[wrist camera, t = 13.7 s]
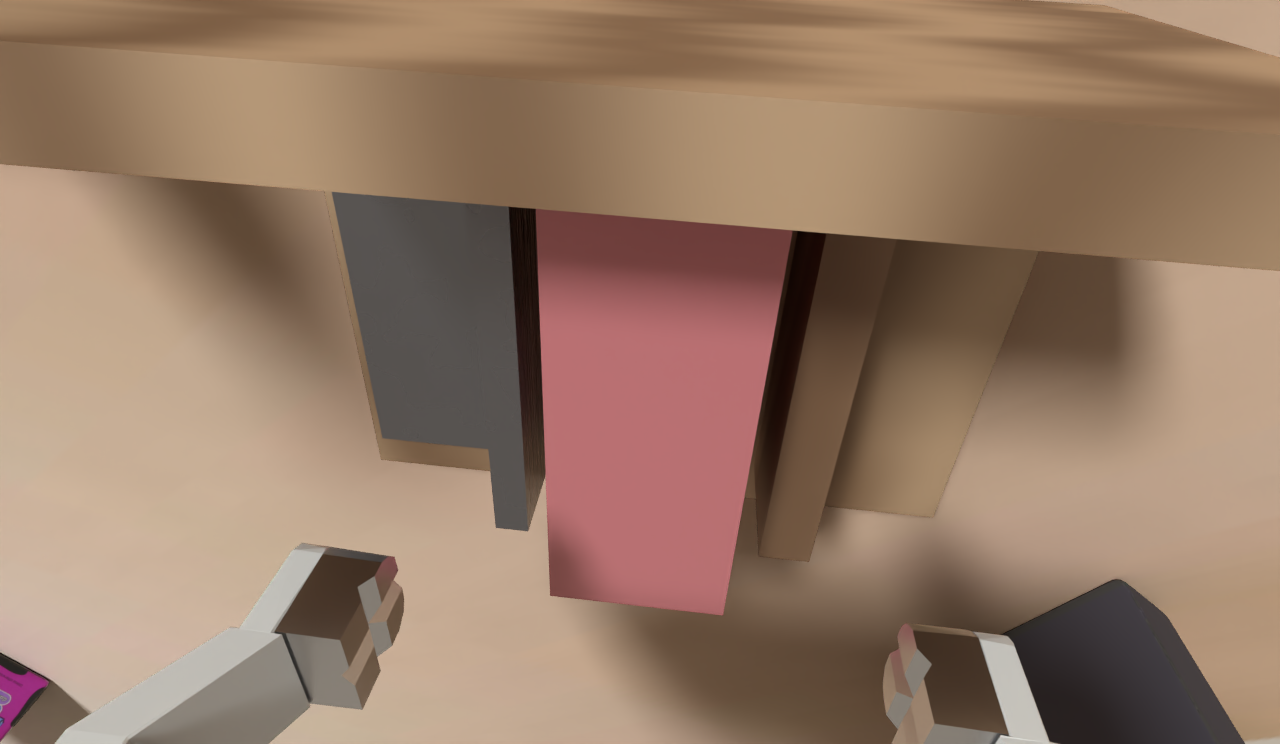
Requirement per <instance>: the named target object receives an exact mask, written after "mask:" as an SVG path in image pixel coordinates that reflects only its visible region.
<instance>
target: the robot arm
mask: <svg viewBox="0 0 1280 744" xmlns="http://www.w3.org/2000/svg"><path fill="white" fill-rule="evenodd" d="M397 572H398V568H397V565H396V561H395V557H392V556H385V555H379V554H372V553H366V552H359V551H353V550H347V549H340V548H334V547H328V546H320V545H313V544H306V543H301V544H300V545H299V546H297V547H296V548H295V549H294V550H292V551H291V553H290V554H289V556H288V557H287V559H286V560H285V562H284V563H283V564H282V566H281V567H280V569H279V570H278V572H277V573H276V575H275V576H274V578H273V579H272V581H271V582H270V583H269V585H268V586H267V588H266V589H265V591H264V592H263V594H262V595H261V597H260V598H259V600H258V601H257V603H256V604H255V605H254V607H253V608H252V610H251V611H250V613H249V614H248V616H247V617H246V619H245V620H244V622H243V623H242V625H241V626H240V627H239V628H236V627H229V628H228V629H226V630H225V631H223V632H221V633H220V634H218V635H216V636H215V637H213V638H212V639H210V640H208V641H207V642H205V643H204V644H202V645H200V646H199V647H197V648H196V649H194V650H192V651H191V652H189V653H188V654H186V655H184V656H183V657H181V658H180V659H178V660H176V661H175V662H173V663H172V664H170V665H168V666H167V667H165V668H164V669H162V670H160V671H159V672H157V673H156V674H154V675H152V676H151V677H149V678H147V679H146V680H144V681H143V682H141V683H139V684H138V685H136V686H135V687H133V688H131V689H130V690H128V691H127V692H125V693H123V694H122V695H120V696H119V697H117V698H115V699H114V700H112V701H111V702H109V703H107V704H106V705H104V706H103V707H101V708H99V709H98V710H96V711H95V712H93V713H91V714H90V715H88V716H86V717H85V718H83V719H82V720H80V721H78V722H77V723H75V724H74V725H72V726H70V727H69V728H67V729H66V730H65V731H64V732H63V734H62V735H61V736H60V737H59V739H58V740H57V741H56V742H55V744H269V743H270V742H271V741H272V740H273V739H274V738H275V737H277V736H278V735H279V734H280V733H281V732H282V731H283V730H284V729H286V728H287V727H288V726H289V725H290V724H291V723H292V722H294V721H295V720H296V719H297V718H298V717H299V716H300V715H301V714H303V713H304V712H305V711H306V710H307V709H308V708H309V707H310V704H309V703H311V704H319V705H328V706H336V707H345V708H353V709H361V710H363V707H364V705H365V703H366V701H367V699H368V697H369V695H370V692H371V690H372V688H373V686H374V684H375V682H376V680H377V677H378V675H379V673H380V671H381V670H380V667H379V663H378V659H377V657H378V656H379V655H380V654H382V653H383V652H384V651H386V650H387V649H388V648H390V647H391V646H392V645H393V643H394V640H395V638H396V636H397V634H398V631H399V629H400V625H401V621H402V616H403V612H404V595H403V590H402V588H401V587H400V586H399V585H398V584H397V583H396V582H395V581H394V578H395V576H396V574H397ZM897 639H898V644H899V649H897V650H896V651H894V652H892V653H890V654H889V657H888V659H887V662H886V665H885V669H884V678H883V697H884V704H885V711H886V715H887V717H888V718H889V719H890V720H891V721H892V723H893V724H894V725H895V726H896V728H897V729H898V731H897V733H896V735H895V737H894V739H893V741H892V743H891V744H1058V743H1053V742H1050V741H1049V738H1048V736H1047V733H1046V730H1045V728H1044V725H1043V722H1042V719H1041V717H1040V714H1039V711H1038V708H1037V706H1036V703H1035V700H1034V698H1033V695H1032V692H1031V689H1030V687H1029V684H1028V681H1027V678H1026V676H1025V673H1024V670H1023V667H1022V665H1021V662H1020V659H1019V657H1018V654H1017V651H1016V648H1015V646H1014V643H1013V642H1012V641H1011V639H1010V638H1009V637H1008V636H1004V635H998V634H989V633H981V632H971V631H970V630H964V629H956V628H947V627H938V626H930V625H921V624H913V623H906V624H904V625H903V626H902V627H901V629H900V631H899V633H898V635H897Z"/></svg>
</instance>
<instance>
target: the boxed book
mask: <svg viewBox="0 0 1280 744" xmlns="http://www.w3.org/2000/svg"><path fill="white" fill-rule="evenodd" d="M536 231H537V258H538V284H539V311H540V337H541V363H542V390H543V416H544V443H545V469H546V496H547V522H548V548H549V575H550V596H558V597H567V598H575V599H584V600H593V601H601V602H610V603H619V604H628V605H636V606H645V607H654V608H663V609H671V610H680V611H689V612H698V613H706V614H715V615H723V612H724V607H725V601H726V596H727V590H728V585H729V579H730V574H731V568H732V563H733V557H734V552H735V546H736V541H737V535H738V530H739V524H740V519H741V513H742V508H743V502H744V497H745V491H746V486H747V480H748V475H749V469H750V464H751V458H752V453H753V447H754V441H755V436H756V430H757V425H758V419H759V414H760V408H761V403H762V397H763V392H764V386H765V381H766V375H767V370H768V364H769V359H770V353H771V348H772V342H773V337H774V331H775V326H776V320H777V315H778V309H779V304H780V298H781V293H782V287H783V282H784V276H785V271H786V265H787V260H788V254H789V249H790V243H791V238H792V232H793V230H783V229H771V228H759V227H747V226H735V225H723V224H711V223H699V222H687V221H675V220H663V219H651V218H639V217H627V216H615V215H603V214H592V213H580V212H568V211H556V210H544V209H536Z"/></svg>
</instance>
